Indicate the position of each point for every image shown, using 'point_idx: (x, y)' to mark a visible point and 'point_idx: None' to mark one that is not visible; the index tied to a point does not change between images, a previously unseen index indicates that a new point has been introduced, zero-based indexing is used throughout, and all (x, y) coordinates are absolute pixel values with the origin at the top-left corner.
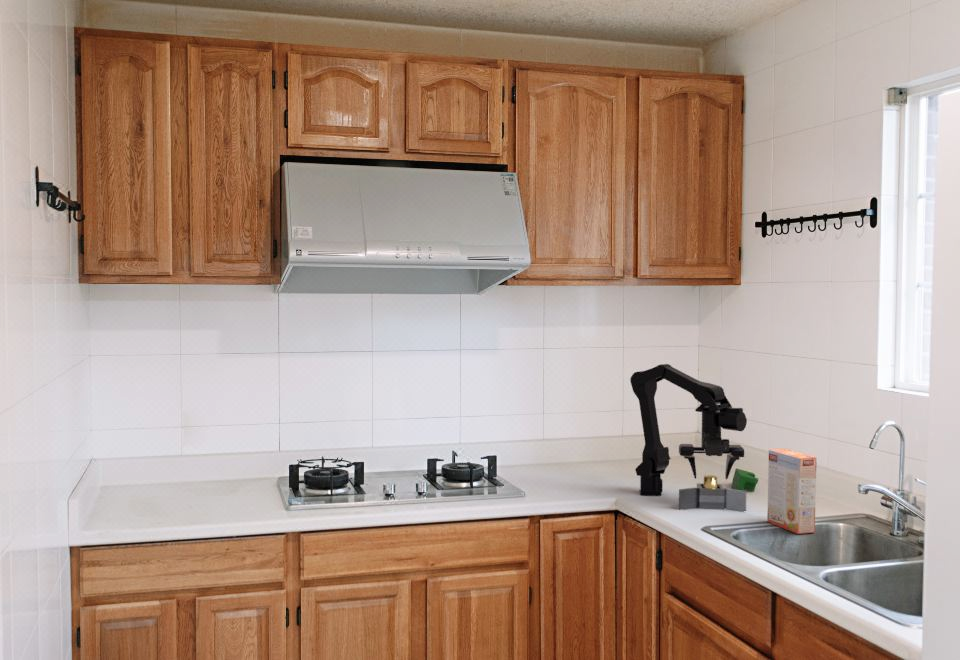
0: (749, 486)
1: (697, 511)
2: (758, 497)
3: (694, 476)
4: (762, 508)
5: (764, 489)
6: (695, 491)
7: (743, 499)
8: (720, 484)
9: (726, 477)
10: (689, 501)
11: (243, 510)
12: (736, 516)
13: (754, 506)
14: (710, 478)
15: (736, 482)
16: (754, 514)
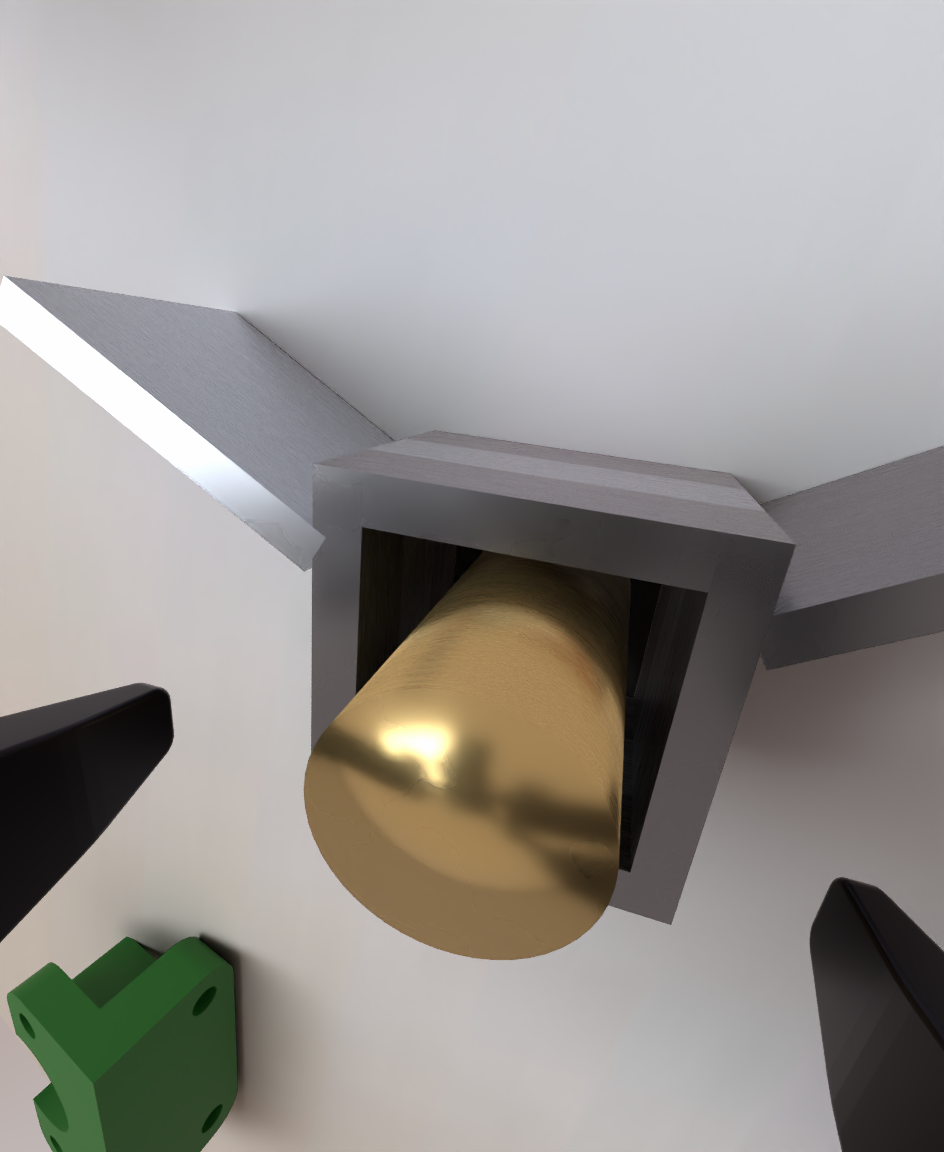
0: (123, 982)
1: (826, 311)
2: None
3: (917, 930)
4: (84, 461)
5: (69, 960)
6: (858, 566)
7: (145, 311)
8: None
9: (128, 696)
10: (938, 480)
11: None
12: (362, 39)
13: (142, 538)
14: (490, 699)
15: (185, 1052)
16: (158, 188)
